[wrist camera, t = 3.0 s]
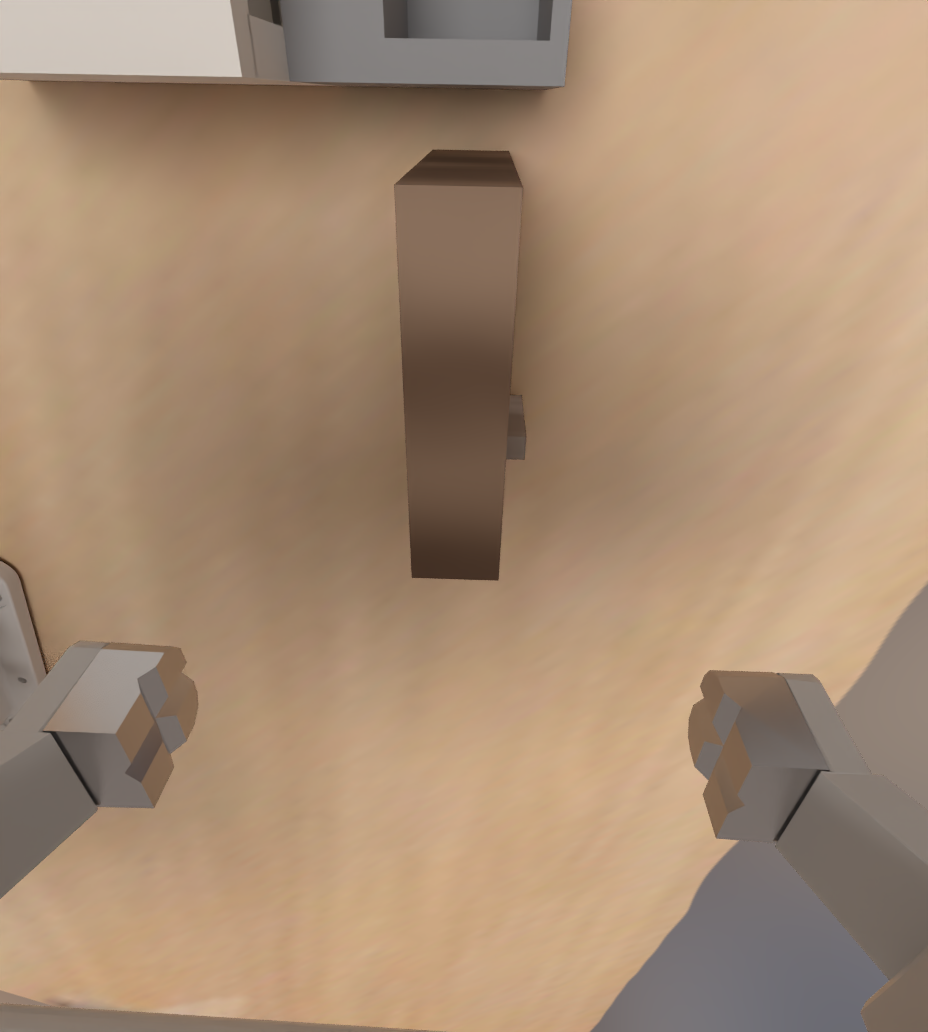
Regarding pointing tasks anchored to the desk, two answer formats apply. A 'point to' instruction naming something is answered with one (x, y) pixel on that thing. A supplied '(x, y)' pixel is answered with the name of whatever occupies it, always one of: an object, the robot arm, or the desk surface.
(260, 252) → the desk surface
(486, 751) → the desk surface
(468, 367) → the wooden block
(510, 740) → the desk surface
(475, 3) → the cabinet
